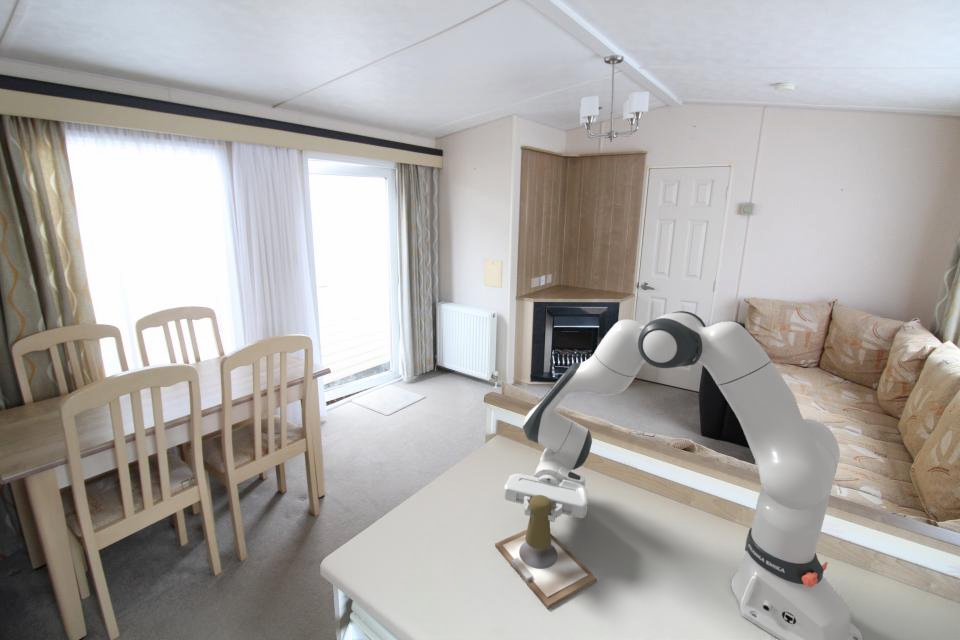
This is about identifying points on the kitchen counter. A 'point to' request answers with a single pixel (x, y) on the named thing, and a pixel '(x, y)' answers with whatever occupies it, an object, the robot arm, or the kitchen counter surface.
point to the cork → (539, 523)
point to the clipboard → (546, 568)
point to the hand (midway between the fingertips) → (539, 516)
